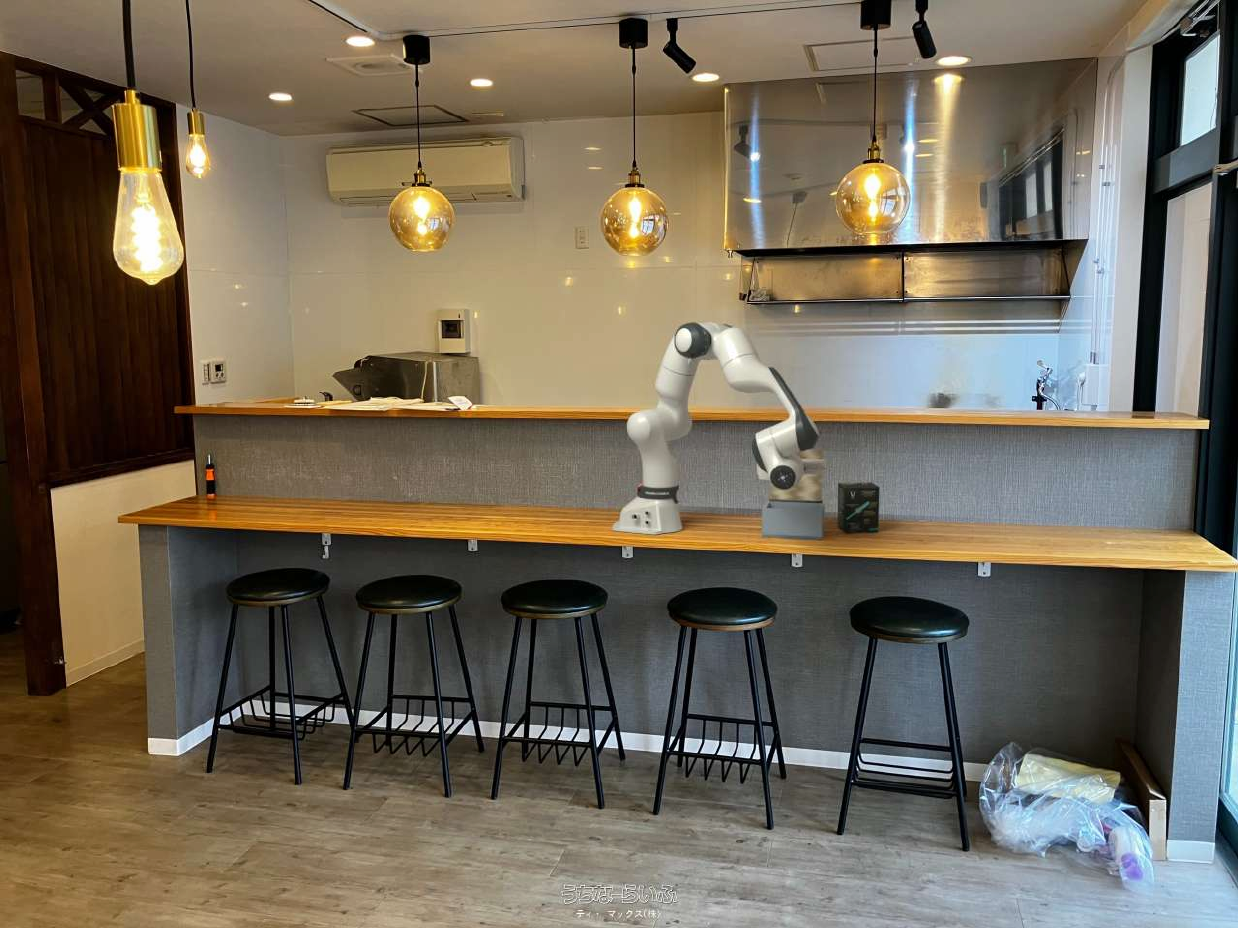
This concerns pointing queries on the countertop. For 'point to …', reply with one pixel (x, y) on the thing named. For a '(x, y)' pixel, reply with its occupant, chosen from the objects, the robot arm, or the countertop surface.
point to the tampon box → (858, 507)
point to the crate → (793, 520)
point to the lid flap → (802, 485)
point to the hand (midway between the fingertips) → (793, 462)
